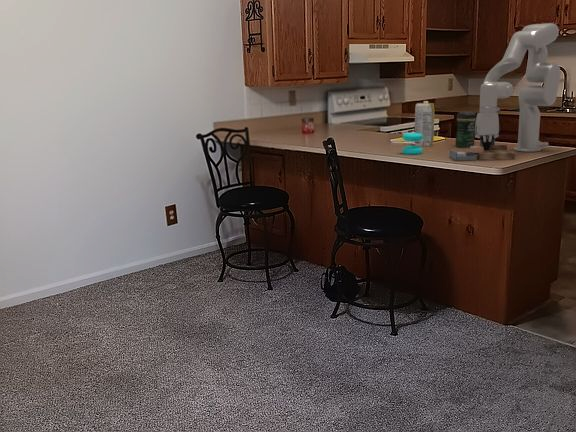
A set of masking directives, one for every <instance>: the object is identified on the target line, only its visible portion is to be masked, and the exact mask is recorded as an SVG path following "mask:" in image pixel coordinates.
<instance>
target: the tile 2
mask: <svg viewBox="0 0 576 432" xmlns="http://www.w3.org/2000/svg"><path fill="white" fill-rule="evenodd" d="M483 151H484V147H482V146H480V145H474V146H470V147H469V152H472V153H483Z"/></svg>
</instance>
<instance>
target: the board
mask: <svg viewBox="0 0 576 432" xmlns="http://www.w3.org/2000/svg"><path fill="white" fill-rule="evenodd" d="M474 154H476V155H477V161H502V160H503V161H505V160H506V159H511V160H515V159H516V152H515V151H511V150H509V149H508V145H507V144H497V145H496V144H495V145H490V148H489V150H486V151H485V150H484V151H483V153H474Z"/></svg>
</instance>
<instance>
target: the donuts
mask: <svg viewBox="0 0 576 432" xmlns="http://www.w3.org/2000/svg"><path fill="white" fill-rule="evenodd" d="M422 138H423V135H422V134H420V133H415V132H407V133H404V134H403V135H402V139H403V141H406V142H414V143H415V141H420V140H421V139H422ZM401 150H402V151H401V152H402V153H403V154H404V155H410V156H411V155H421V154H422V153H423V148H422V146H416V145H408V146H405V147H403V148H402V149H401Z"/></svg>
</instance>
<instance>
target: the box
mask: <svg viewBox="0 0 576 432" xmlns="http://www.w3.org/2000/svg"><path fill="white" fill-rule="evenodd" d="M457 152H458V151H456V150H453V149H452V148H449V158H450V159H452V160H453V161H455V162H472V161H473V162H474V161H475V162H477V161H478V159H477V155H476V154H474V153H472V152H470V151H468V152H465V153H466V156H465V157H457Z"/></svg>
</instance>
